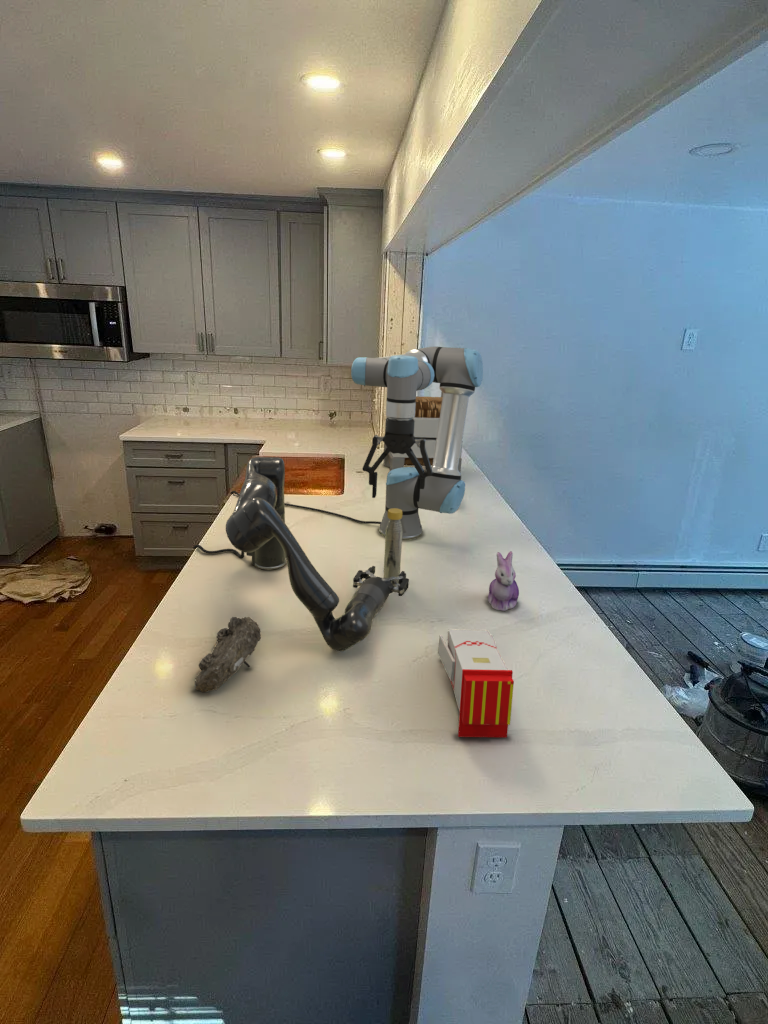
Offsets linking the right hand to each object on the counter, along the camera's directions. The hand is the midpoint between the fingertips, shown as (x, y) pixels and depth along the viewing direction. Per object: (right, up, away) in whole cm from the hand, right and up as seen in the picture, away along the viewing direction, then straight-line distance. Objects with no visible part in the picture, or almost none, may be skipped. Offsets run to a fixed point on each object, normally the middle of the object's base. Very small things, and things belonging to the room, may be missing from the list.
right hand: (395, 498), depth 154 cm
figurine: (+29, -29, +1) cm, 41 cm away
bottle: (-1, -25, +9) cm, 26 cm away
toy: (+15, -41, -35) cm, 56 cm away
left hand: (-2, -20, +4) cm, 21 cm away
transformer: (+14, +15, +121) cm, 123 cm away
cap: (0, -4, +1) cm, 4 cm away
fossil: (-36, -37, -30) cm, 60 cm away
